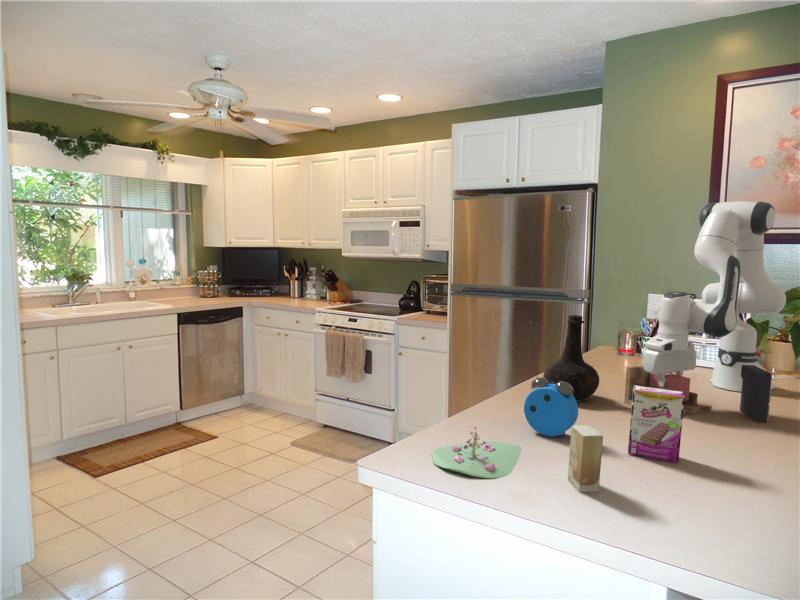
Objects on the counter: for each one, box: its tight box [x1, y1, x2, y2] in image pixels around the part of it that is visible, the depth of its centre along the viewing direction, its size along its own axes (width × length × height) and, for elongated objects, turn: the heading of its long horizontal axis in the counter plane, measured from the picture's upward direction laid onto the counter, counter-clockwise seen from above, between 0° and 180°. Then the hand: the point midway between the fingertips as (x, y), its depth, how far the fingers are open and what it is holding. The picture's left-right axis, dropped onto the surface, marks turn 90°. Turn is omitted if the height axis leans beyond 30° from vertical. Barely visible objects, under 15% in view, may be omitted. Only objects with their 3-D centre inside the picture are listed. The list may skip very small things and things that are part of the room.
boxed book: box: [649, 373, 691, 401], centre depth 164 cm, size 4×11×7 cm, turn 24°
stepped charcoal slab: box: [739, 365, 773, 423], centre depth 156 cm, size 11×4×15 cm, turn 168°
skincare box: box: [567, 424, 604, 493], centre depth 107 cm, size 6×4×12 cm
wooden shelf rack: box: [623, 364, 713, 416], centre depth 164 cm, size 20×16×12 cm
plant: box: [430, 426, 522, 479], centre depth 121 cm, size 25×21×9 cm
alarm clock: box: [523, 376, 579, 438], centre depth 137 cm, size 13×6×15 cm, turn 52°
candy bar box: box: [627, 386, 685, 463], centre depth 124 cm, size 11×5×16 cm, turn 65°
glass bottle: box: [542, 314, 600, 402], centre depth 171 cm, size 18×18×28 cm
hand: (668, 385), depth 164 cm, fingers closed on boxed book, 4 cm apart
